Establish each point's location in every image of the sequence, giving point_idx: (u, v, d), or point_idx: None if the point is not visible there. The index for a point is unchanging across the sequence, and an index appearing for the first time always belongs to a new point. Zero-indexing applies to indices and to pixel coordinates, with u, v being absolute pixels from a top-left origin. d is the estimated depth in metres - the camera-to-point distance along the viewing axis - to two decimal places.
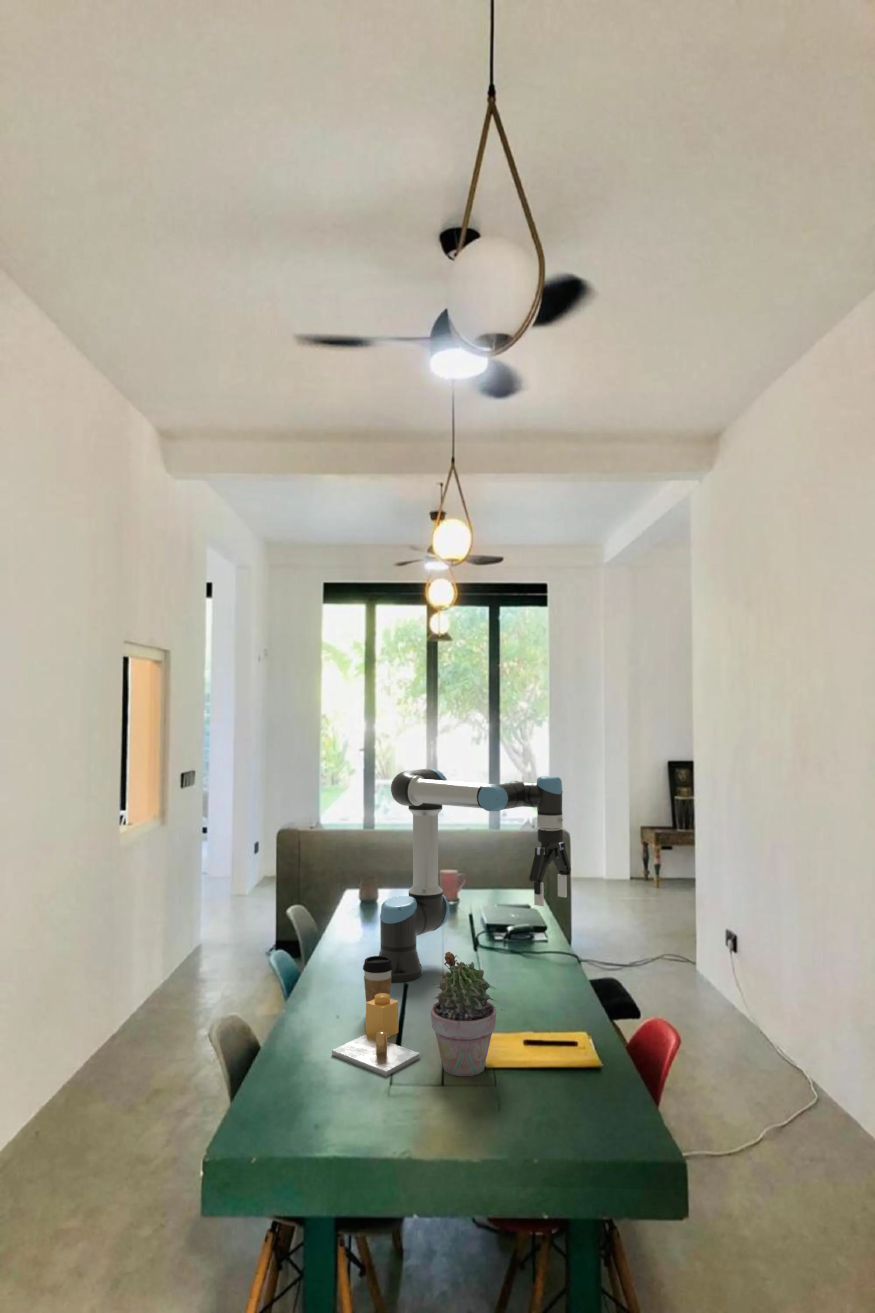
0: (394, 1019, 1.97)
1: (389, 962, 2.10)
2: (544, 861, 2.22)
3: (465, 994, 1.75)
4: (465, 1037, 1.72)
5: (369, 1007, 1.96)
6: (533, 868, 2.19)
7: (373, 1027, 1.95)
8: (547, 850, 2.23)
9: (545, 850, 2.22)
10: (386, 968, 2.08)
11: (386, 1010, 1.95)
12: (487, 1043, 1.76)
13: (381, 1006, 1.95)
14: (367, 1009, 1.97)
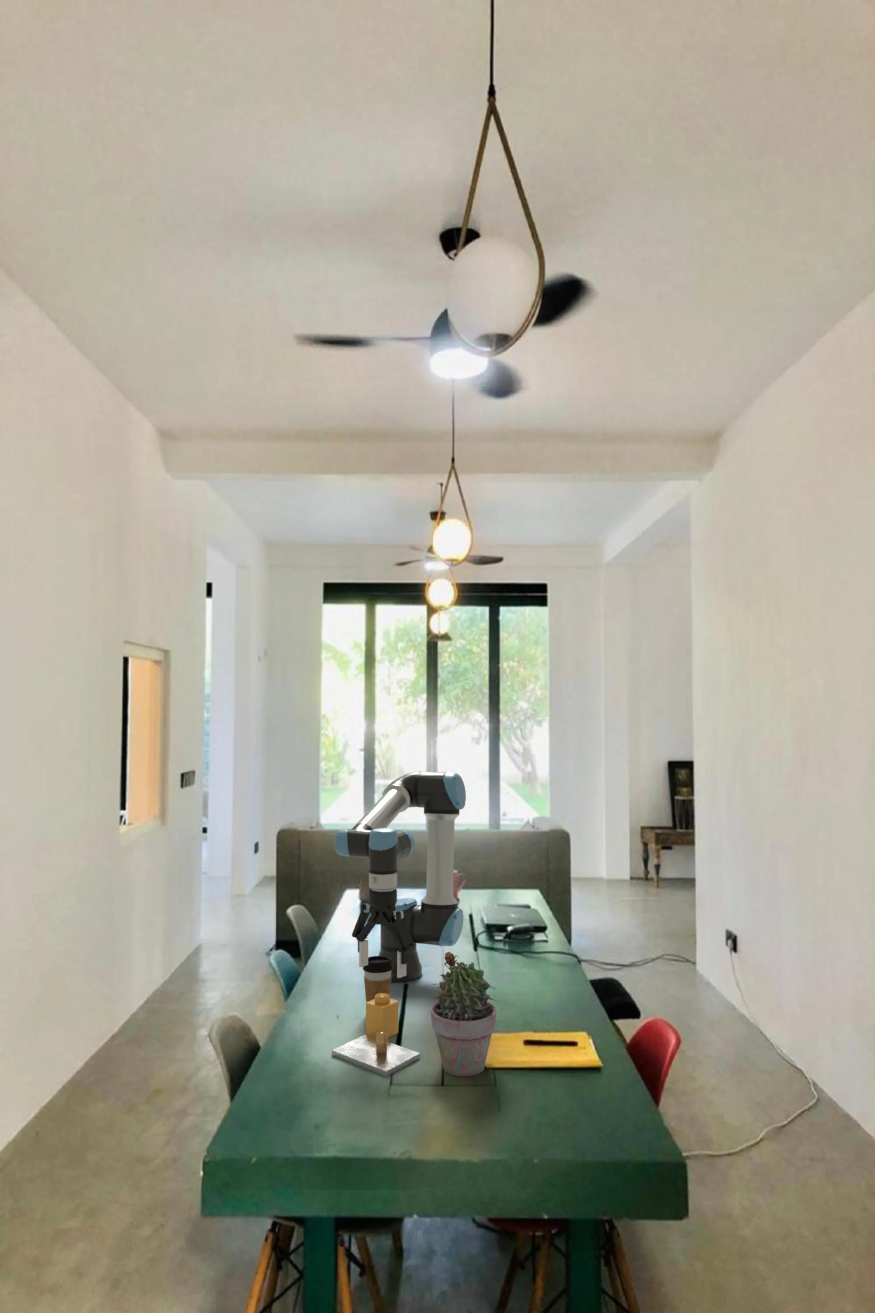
0: (394, 1019, 1.97)
1: (389, 962, 2.10)
2: None
3: (465, 994, 1.75)
4: (465, 1037, 1.72)
5: (369, 1007, 1.96)
6: None
7: (373, 1027, 1.95)
8: (370, 909, 2.01)
9: None
10: (386, 968, 2.08)
11: (386, 1010, 1.95)
12: (487, 1043, 1.76)
13: (381, 1006, 1.95)
14: (367, 1009, 1.97)
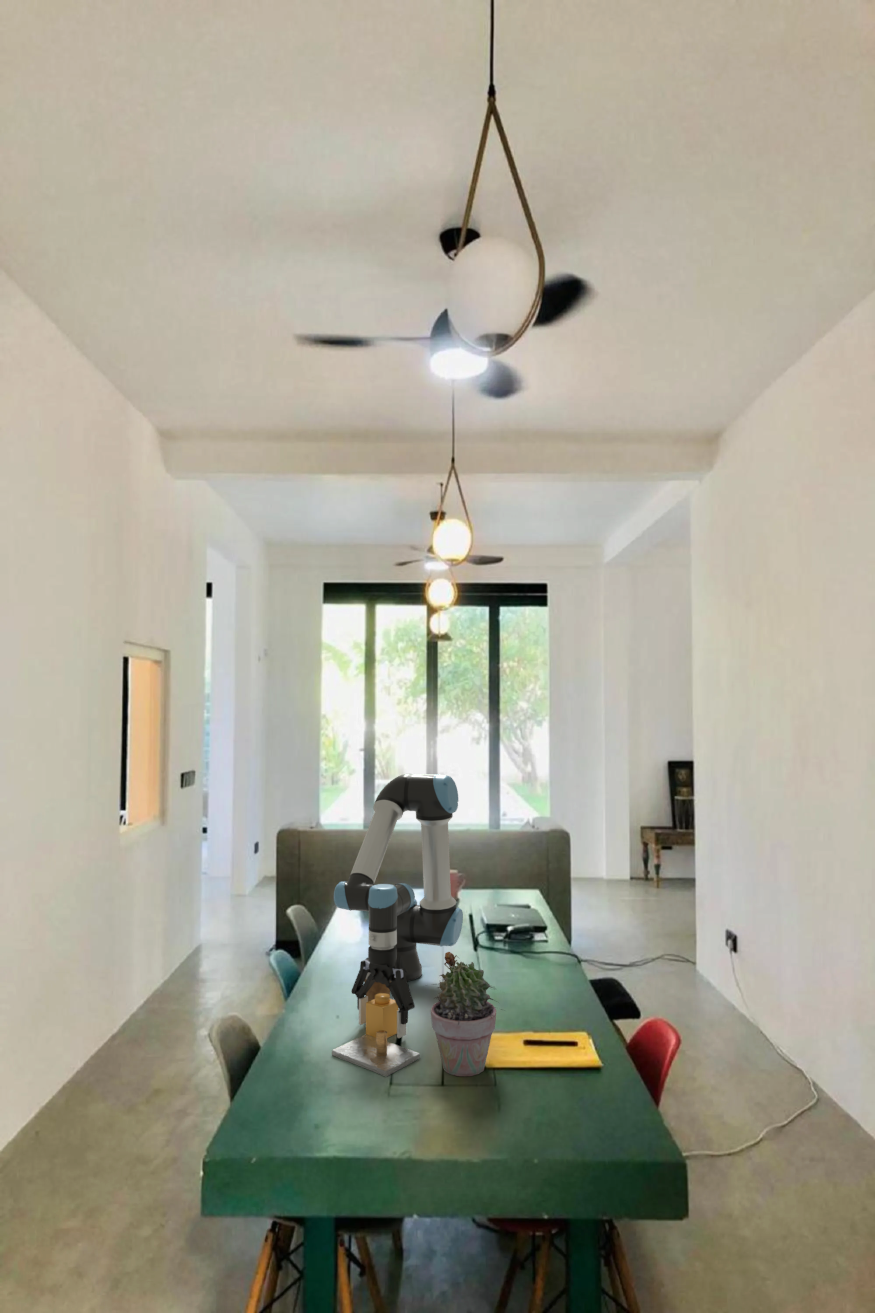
0: (394, 1019, 1.97)
1: None
2: None
3: (465, 994, 1.75)
4: (465, 1037, 1.72)
5: (369, 1007, 1.96)
6: None
7: (373, 1027, 1.95)
8: (369, 967, 2.00)
9: None
10: None
11: (386, 1010, 1.95)
12: (487, 1043, 1.76)
13: (381, 1006, 1.95)
14: (367, 1009, 1.97)
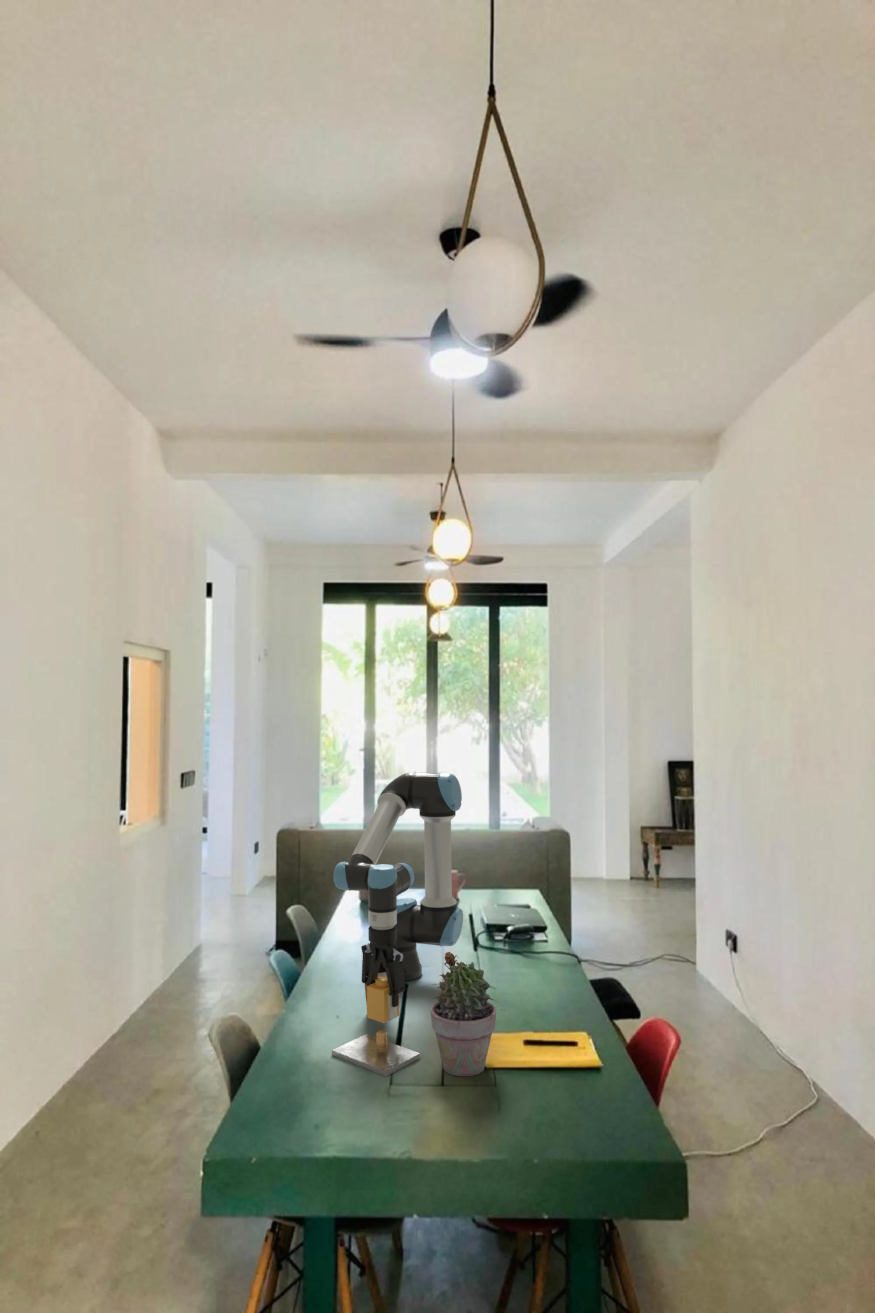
0: None
1: (389, 962, 2.10)
2: None
3: (465, 994, 1.75)
4: (465, 1037, 1.72)
5: (370, 990, 1.97)
6: None
7: (374, 1010, 1.96)
8: (370, 947, 2.00)
9: None
10: None
11: (387, 993, 1.95)
12: (487, 1043, 1.76)
13: (382, 989, 1.95)
14: (367, 993, 1.98)
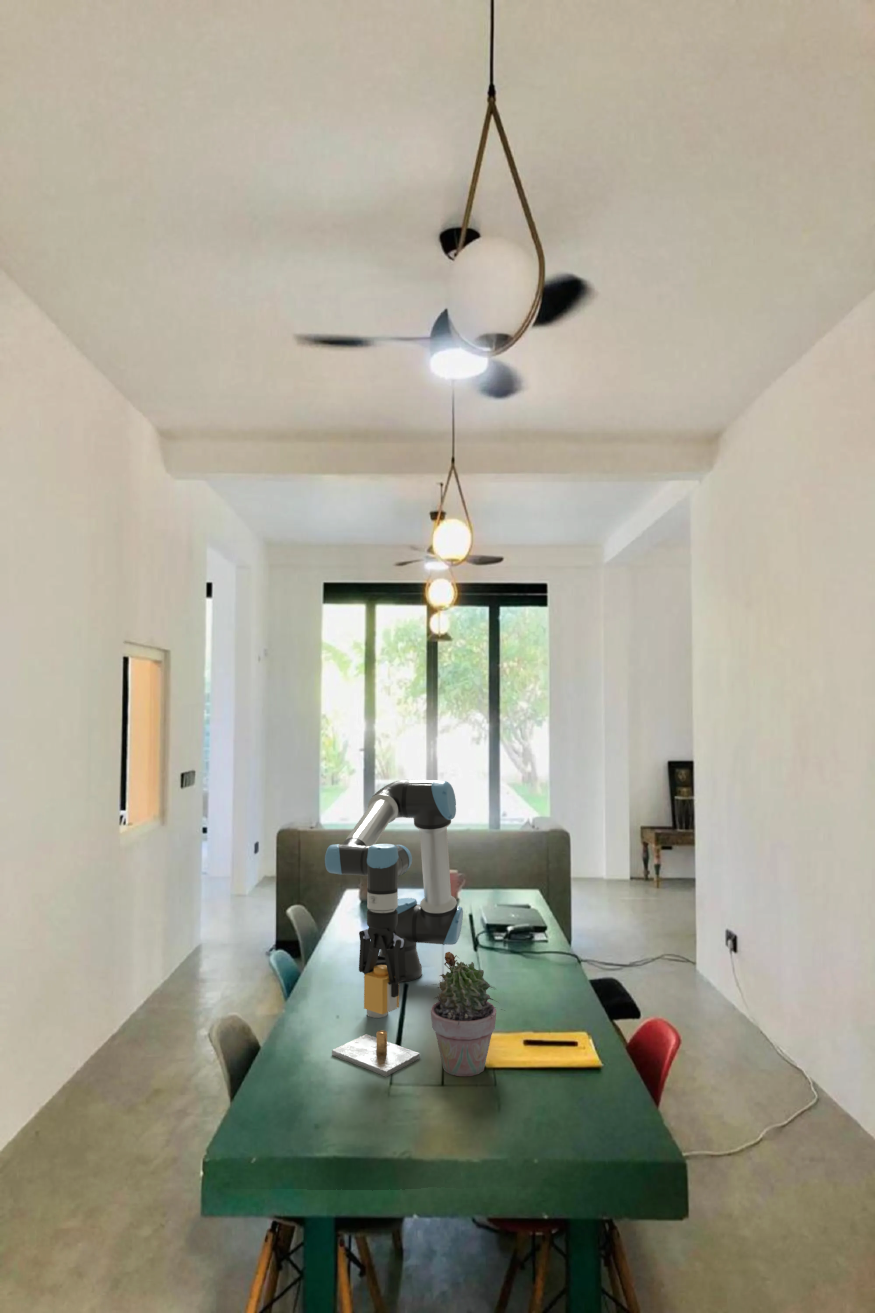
0: None
1: None
2: None
3: (465, 994, 1.75)
4: (465, 1037, 1.72)
5: (368, 979, 1.83)
6: None
7: (372, 1000, 1.81)
8: (369, 932, 1.86)
9: None
10: None
11: (386, 982, 1.81)
12: (487, 1043, 1.76)
13: (381, 978, 1.81)
14: (365, 982, 1.83)
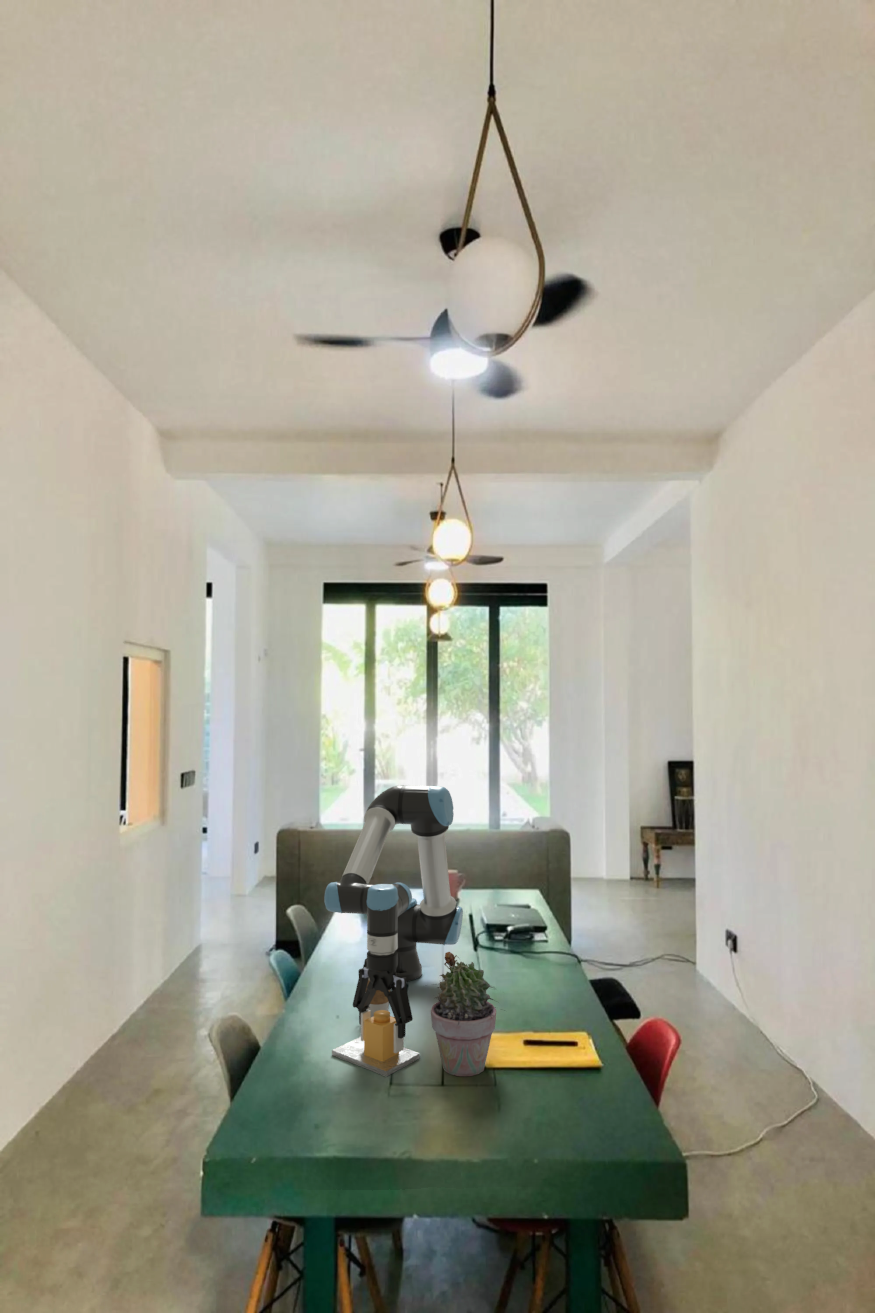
0: None
1: None
2: None
3: (465, 994, 1.75)
4: (465, 1037, 1.72)
5: (368, 1025, 1.82)
6: None
7: (372, 1047, 1.80)
8: (368, 974, 1.85)
9: None
10: None
11: (386, 1029, 1.80)
12: (487, 1043, 1.76)
13: (381, 1024, 1.80)
14: (365, 1028, 1.82)
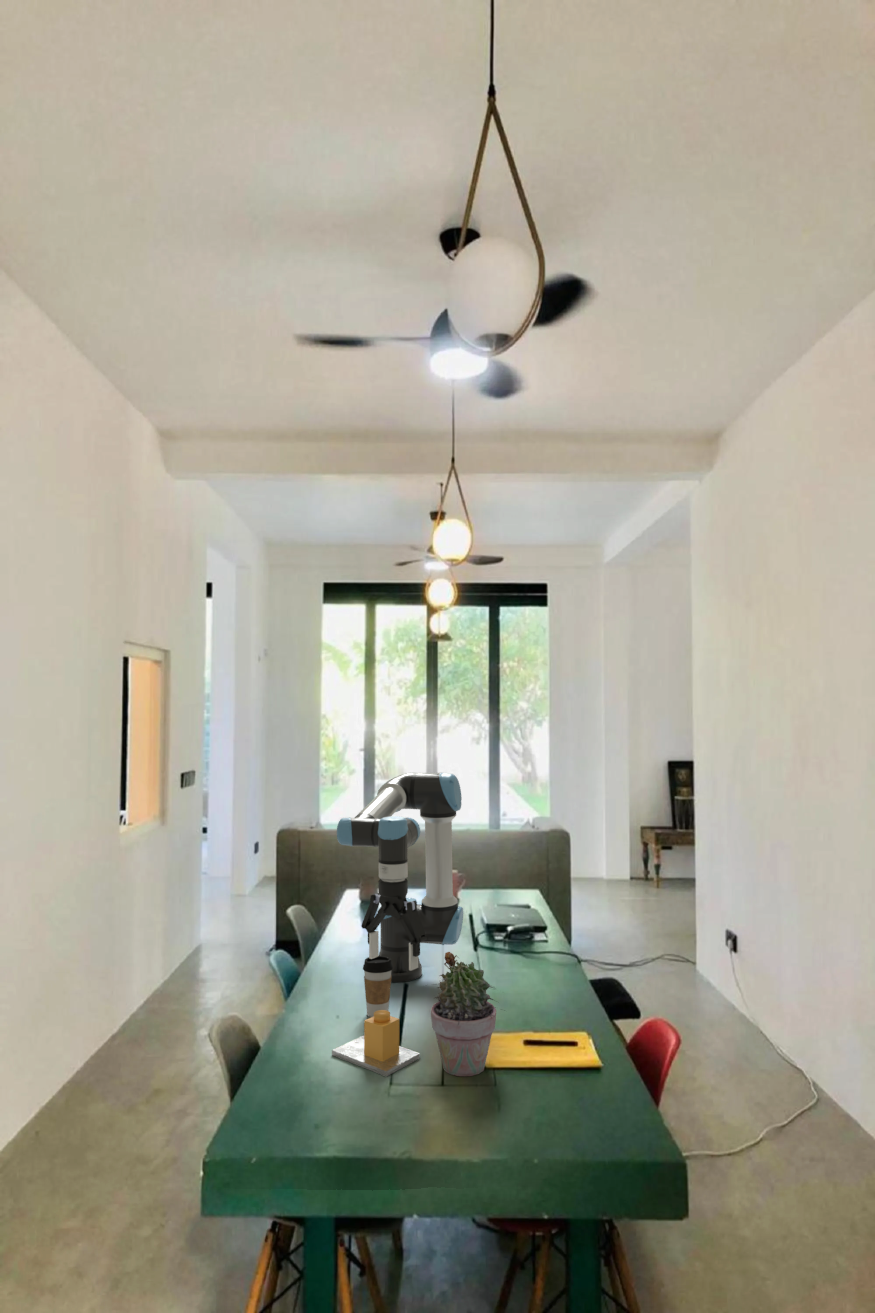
0: (395, 1038, 1.82)
1: (389, 962, 2.10)
2: None
3: (465, 994, 1.75)
4: (465, 1037, 1.72)
5: (368, 1025, 1.82)
6: None
7: (372, 1047, 1.80)
8: (380, 900, 1.95)
9: None
10: (386, 968, 2.08)
11: (386, 1029, 1.80)
12: (487, 1043, 1.76)
13: (381, 1024, 1.80)
14: (365, 1028, 1.82)
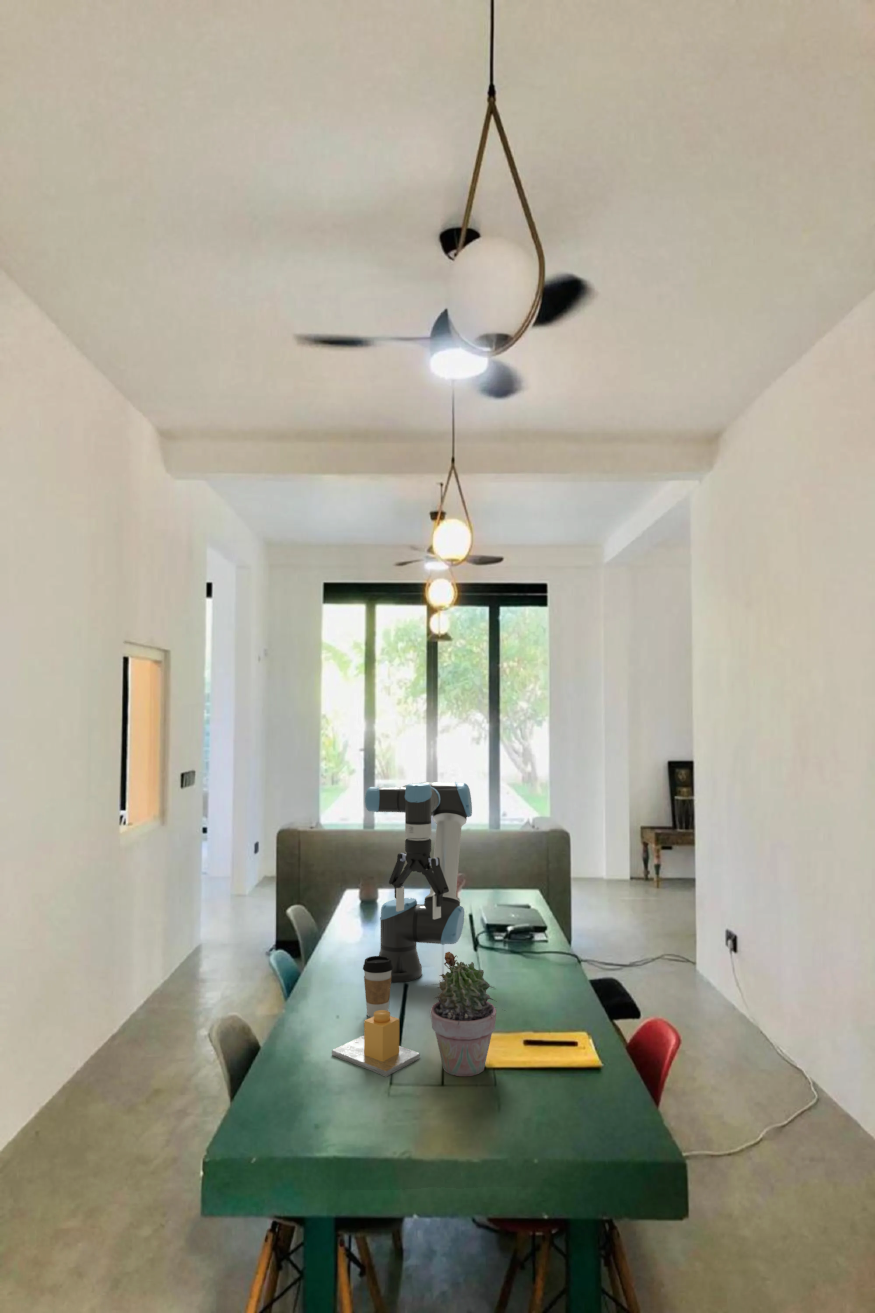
0: (395, 1038, 1.82)
1: (389, 962, 2.10)
2: None
3: (465, 994, 1.75)
4: (465, 1037, 1.72)
5: (368, 1025, 1.82)
6: None
7: (372, 1047, 1.80)
8: (406, 858, 2.16)
9: None
10: (386, 968, 2.08)
11: (386, 1029, 1.80)
12: (487, 1043, 1.76)
13: (381, 1024, 1.80)
14: (365, 1028, 1.82)
